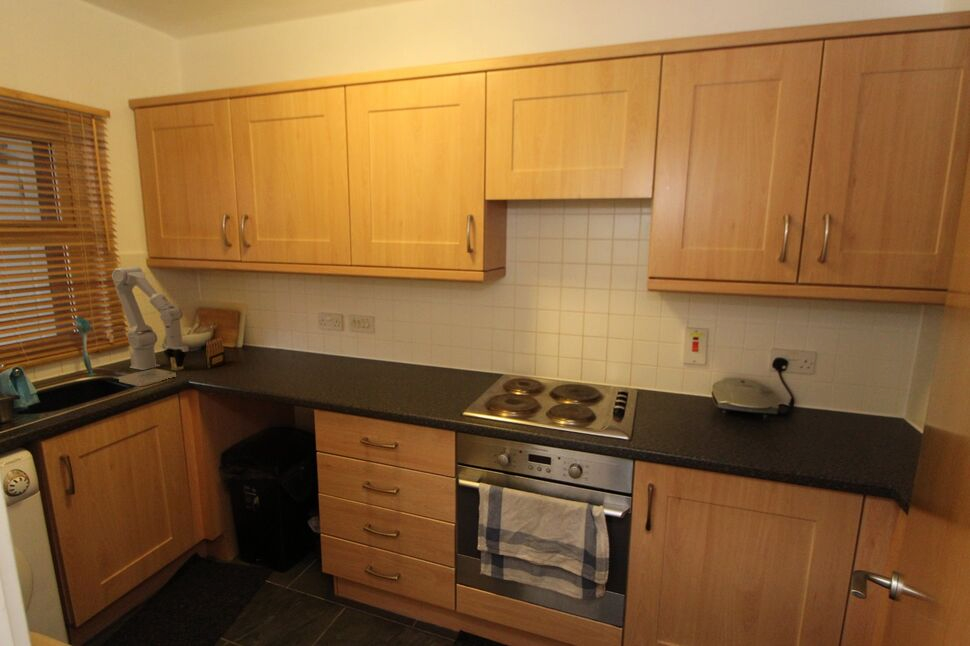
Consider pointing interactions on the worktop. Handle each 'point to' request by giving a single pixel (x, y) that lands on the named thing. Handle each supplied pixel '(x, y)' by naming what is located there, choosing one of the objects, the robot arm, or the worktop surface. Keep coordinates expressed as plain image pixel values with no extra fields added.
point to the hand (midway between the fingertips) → (177, 365)
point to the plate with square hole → (147, 377)
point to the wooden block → (174, 364)
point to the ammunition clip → (215, 353)
